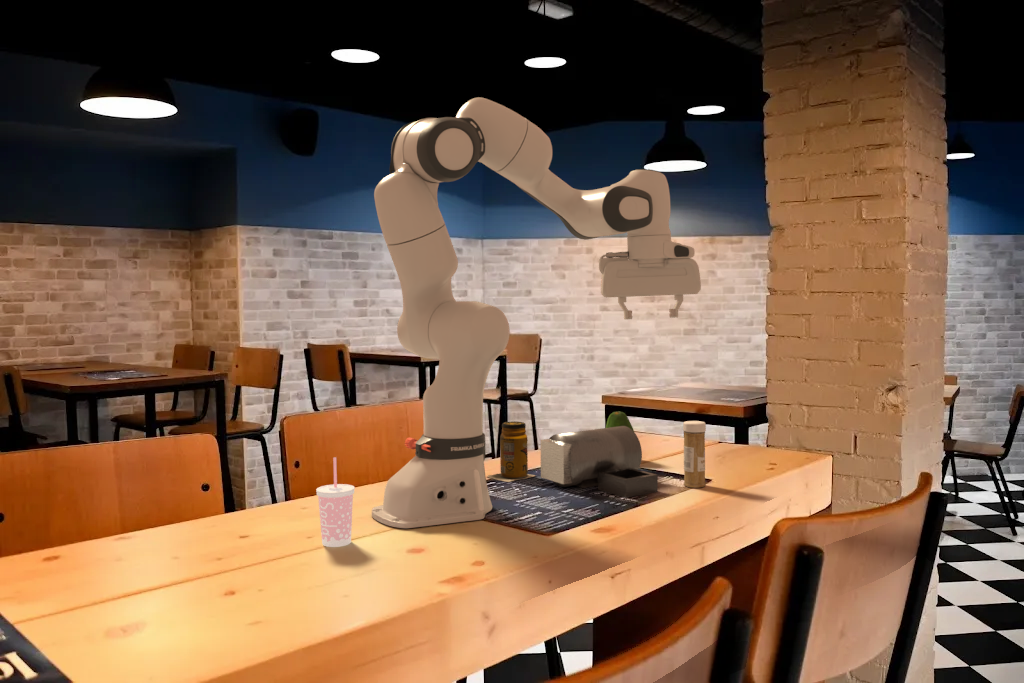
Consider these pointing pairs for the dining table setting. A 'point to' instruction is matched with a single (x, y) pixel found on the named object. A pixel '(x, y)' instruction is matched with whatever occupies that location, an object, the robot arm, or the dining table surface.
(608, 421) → the avocado
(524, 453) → the condiment
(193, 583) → the dining table surface
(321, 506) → the beverage cup
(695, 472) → the sprinkles bottle
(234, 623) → the dining table surface
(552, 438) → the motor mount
